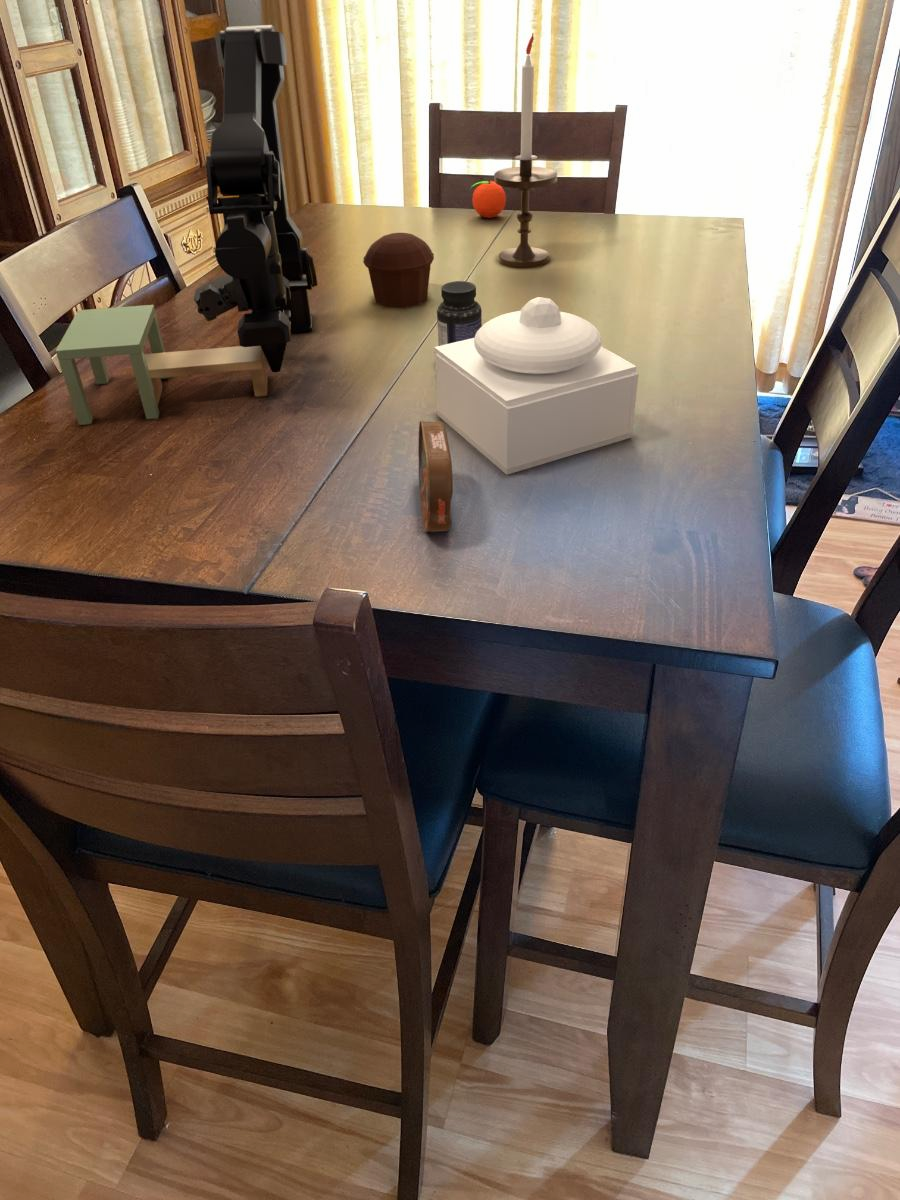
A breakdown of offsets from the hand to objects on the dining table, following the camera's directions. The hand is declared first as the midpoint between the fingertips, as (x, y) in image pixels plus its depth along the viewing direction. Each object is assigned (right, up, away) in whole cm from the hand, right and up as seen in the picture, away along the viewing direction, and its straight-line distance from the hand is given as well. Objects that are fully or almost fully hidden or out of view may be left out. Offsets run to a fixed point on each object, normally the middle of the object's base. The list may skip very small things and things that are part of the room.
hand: (276, 371), depth 119 cm
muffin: (+16, +19, +27) cm, 37 cm away
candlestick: (+37, +31, +41) cm, 63 cm away
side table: (-20, -4, 0) cm, 20 cm away
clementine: (+31, +48, +64) cm, 86 cm away
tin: (+22, -21, -24) cm, 39 cm away
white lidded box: (+34, -9, -10) cm, 36 cm away
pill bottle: (+25, +2, +5) cm, 26 cm away
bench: (-9, -3, 0) cm, 10 cm away
